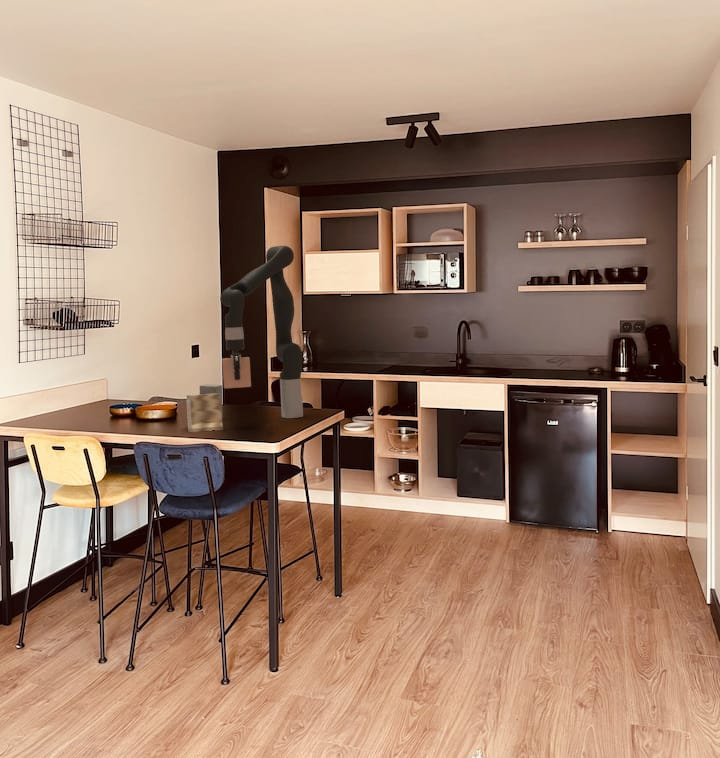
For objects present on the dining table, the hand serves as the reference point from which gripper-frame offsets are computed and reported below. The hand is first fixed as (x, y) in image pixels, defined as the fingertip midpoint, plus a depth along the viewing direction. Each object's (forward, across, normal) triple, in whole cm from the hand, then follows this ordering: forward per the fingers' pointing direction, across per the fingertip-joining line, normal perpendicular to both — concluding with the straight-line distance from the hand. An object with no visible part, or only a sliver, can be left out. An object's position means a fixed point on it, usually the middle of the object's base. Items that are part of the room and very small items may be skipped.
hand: (237, 378), depth 310 cm
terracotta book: (+3, 0, 0) cm, 3 cm away
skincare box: (+20, +21, +11) cm, 31 cm away
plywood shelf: (+20, +2, +14) cm, 25 cm away
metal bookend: (+19, +1, +20) cm, 28 cm away
